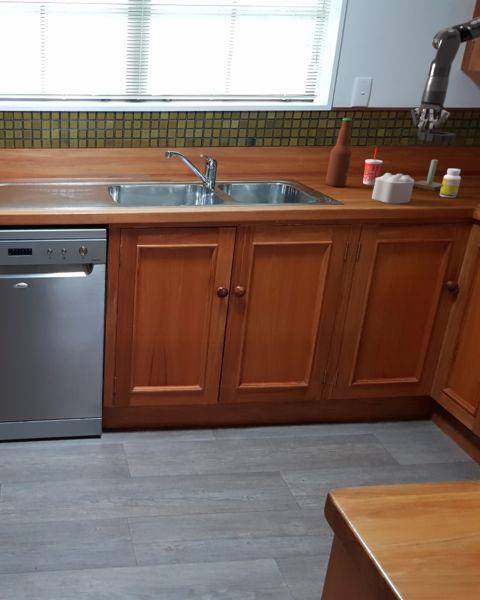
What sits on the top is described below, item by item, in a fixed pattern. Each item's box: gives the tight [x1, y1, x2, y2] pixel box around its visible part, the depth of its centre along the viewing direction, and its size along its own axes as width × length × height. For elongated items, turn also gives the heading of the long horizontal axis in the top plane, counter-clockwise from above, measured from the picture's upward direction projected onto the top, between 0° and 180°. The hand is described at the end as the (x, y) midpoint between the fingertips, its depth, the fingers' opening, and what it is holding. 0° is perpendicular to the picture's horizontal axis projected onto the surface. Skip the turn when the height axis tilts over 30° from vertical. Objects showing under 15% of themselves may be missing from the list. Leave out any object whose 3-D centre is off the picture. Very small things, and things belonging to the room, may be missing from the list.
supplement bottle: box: [439, 168, 462, 199], centre depth 219 cm, size 5×5×10 cm
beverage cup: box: [362, 147, 384, 186], centre depth 237 cm, size 6×6×14 cm
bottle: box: [325, 117, 353, 188], centre depth 231 cm, size 7×7×25 cm
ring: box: [418, 130, 457, 143], centre depth 222 cm, size 11×11×2 cm
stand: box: [413, 159, 442, 192], centre depth 233 cm, size 9×9×10 cm
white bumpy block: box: [371, 172, 415, 204], centre depth 213 cm, size 10×13×9 cm
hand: (424, 138), depth 226 cm, fingers closed on ring, 2 cm apart
